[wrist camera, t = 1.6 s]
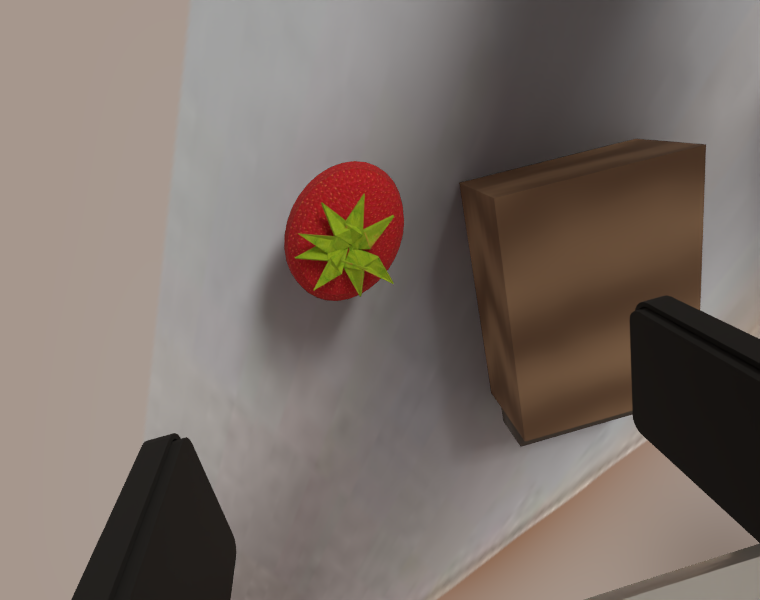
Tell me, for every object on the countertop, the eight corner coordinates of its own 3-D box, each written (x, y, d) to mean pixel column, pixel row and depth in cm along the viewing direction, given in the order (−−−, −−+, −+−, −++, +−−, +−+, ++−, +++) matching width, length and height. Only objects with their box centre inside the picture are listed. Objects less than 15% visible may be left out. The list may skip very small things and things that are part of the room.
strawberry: (405, 179, 31) (452, 208, 22) (352, 284, 33) (374, 352, 24) (318, 134, 29) (329, 144, 20) (267, 247, 31) (256, 305, 22)
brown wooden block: (459, 182, 32) (494, 198, 26) (635, 138, 32) (705, 144, 27) (493, 405, 38) (526, 456, 33) (639, 364, 39) (696, 406, 33)
